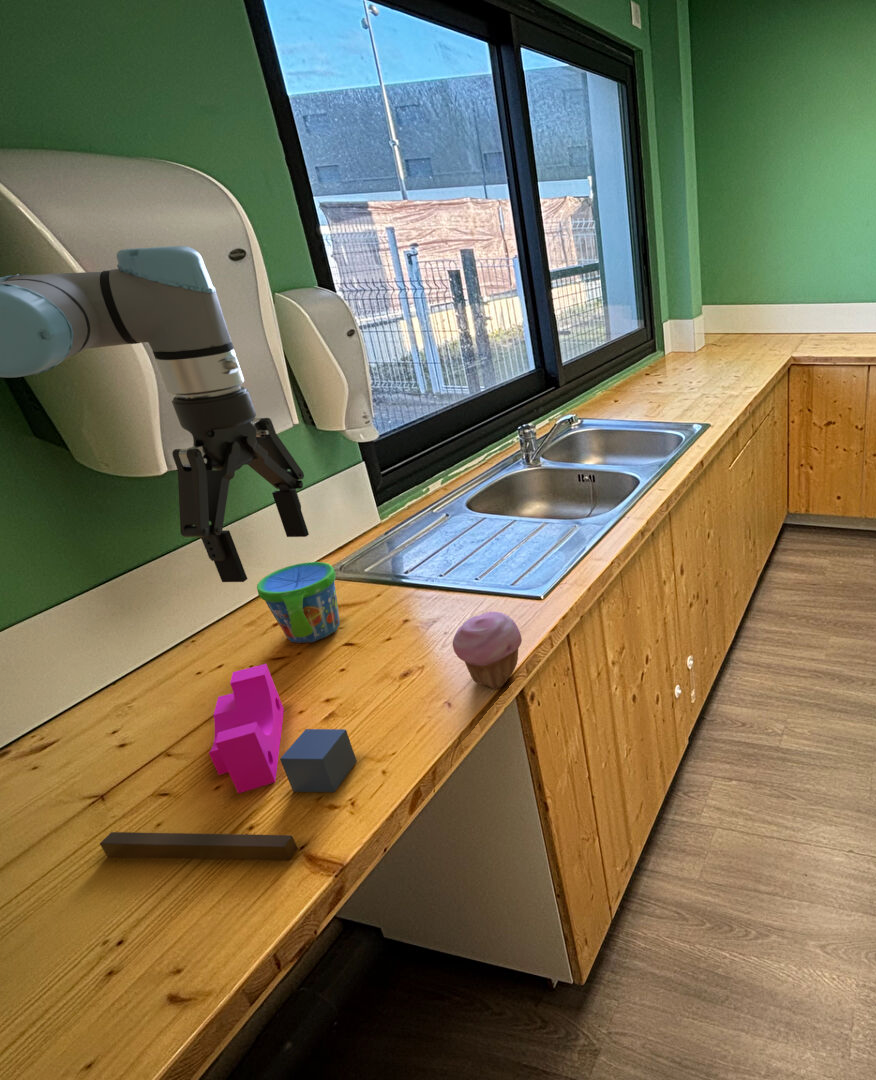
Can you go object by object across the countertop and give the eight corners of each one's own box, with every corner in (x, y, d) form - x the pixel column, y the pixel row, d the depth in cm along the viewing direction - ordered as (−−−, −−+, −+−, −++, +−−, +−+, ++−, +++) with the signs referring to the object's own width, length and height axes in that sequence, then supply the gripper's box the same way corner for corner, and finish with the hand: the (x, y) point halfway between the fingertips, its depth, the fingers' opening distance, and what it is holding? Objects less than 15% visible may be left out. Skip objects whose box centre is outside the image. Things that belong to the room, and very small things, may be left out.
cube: (292, 791, 81) (279, 758, 78) (317, 760, 85) (305, 728, 83) (334, 792, 80) (322, 759, 78) (357, 761, 85) (346, 729, 83)
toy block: (230, 724, 92) (209, 677, 89) (284, 709, 94) (266, 663, 91) (212, 801, 80) (188, 750, 76) (275, 782, 82) (254, 732, 79)
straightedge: (107, 857, 73) (99, 843, 72) (119, 845, 74) (111, 831, 74) (289, 860, 72) (283, 846, 71) (298, 848, 73) (292, 834, 72)
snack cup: (289, 614, 117) (270, 560, 113) (357, 602, 120) (341, 549, 116) (265, 666, 104) (242, 607, 99) (342, 651, 106) (323, 593, 102)
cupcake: (450, 688, 97) (434, 627, 93) (493, 654, 104) (481, 596, 100) (499, 704, 93) (485, 642, 89) (540, 668, 100) (530, 609, 96)
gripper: (157, 419, 70) (231, 605, 79) (302, 367, 92) (346, 518, 101) (87, 420, 70) (169, 605, 80) (248, 369, 92) (297, 519, 101)
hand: (268, 557), depth 90 cm, fingers open, 12 cm apart
